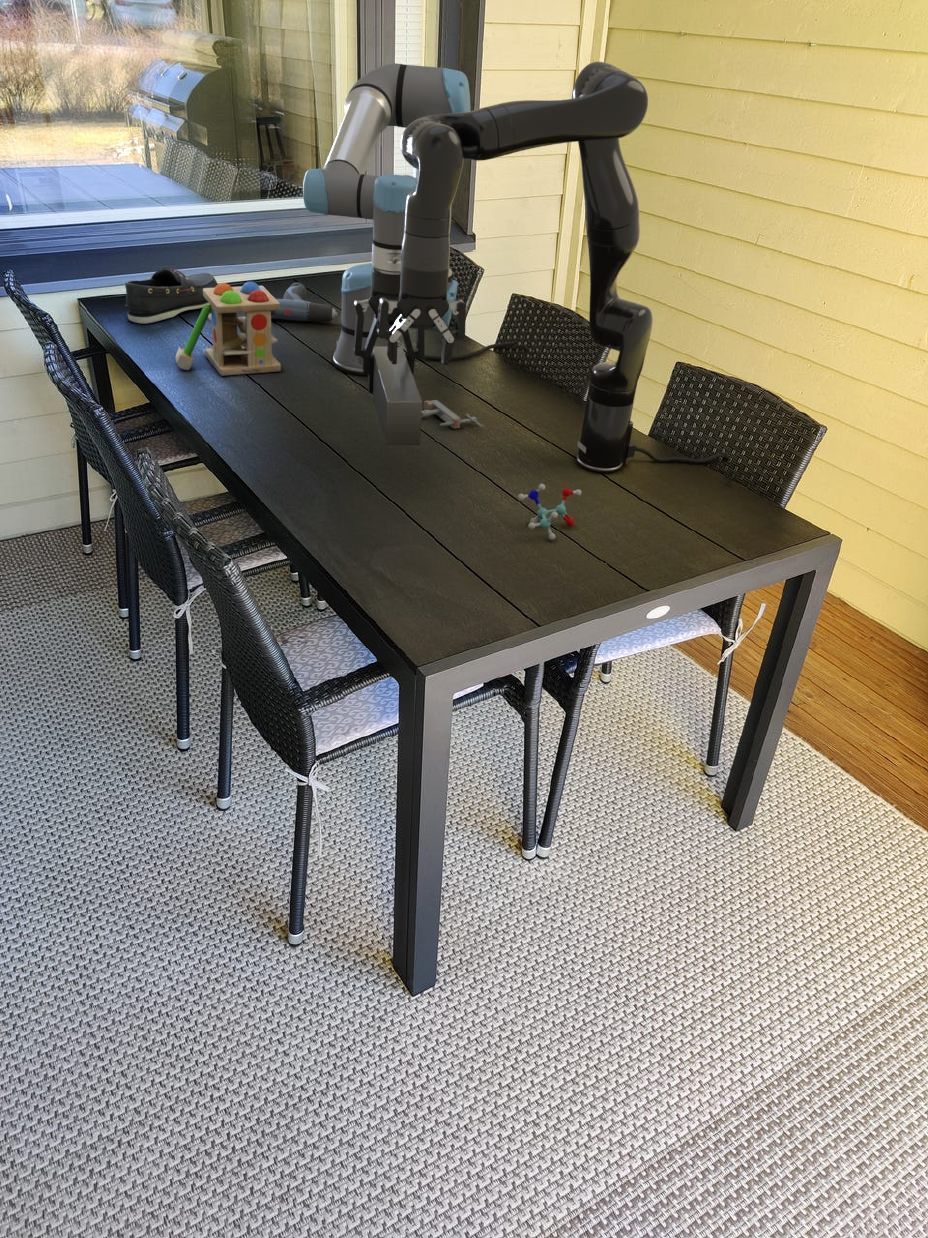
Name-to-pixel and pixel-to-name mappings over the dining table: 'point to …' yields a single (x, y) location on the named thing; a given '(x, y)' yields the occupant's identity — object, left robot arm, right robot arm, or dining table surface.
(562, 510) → the molecular model
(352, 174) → the left robot arm
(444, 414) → the clamp
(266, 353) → the pounding bench toy
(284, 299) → the power drill
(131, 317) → the boat shoe
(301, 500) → the dining table surface
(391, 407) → the bar
